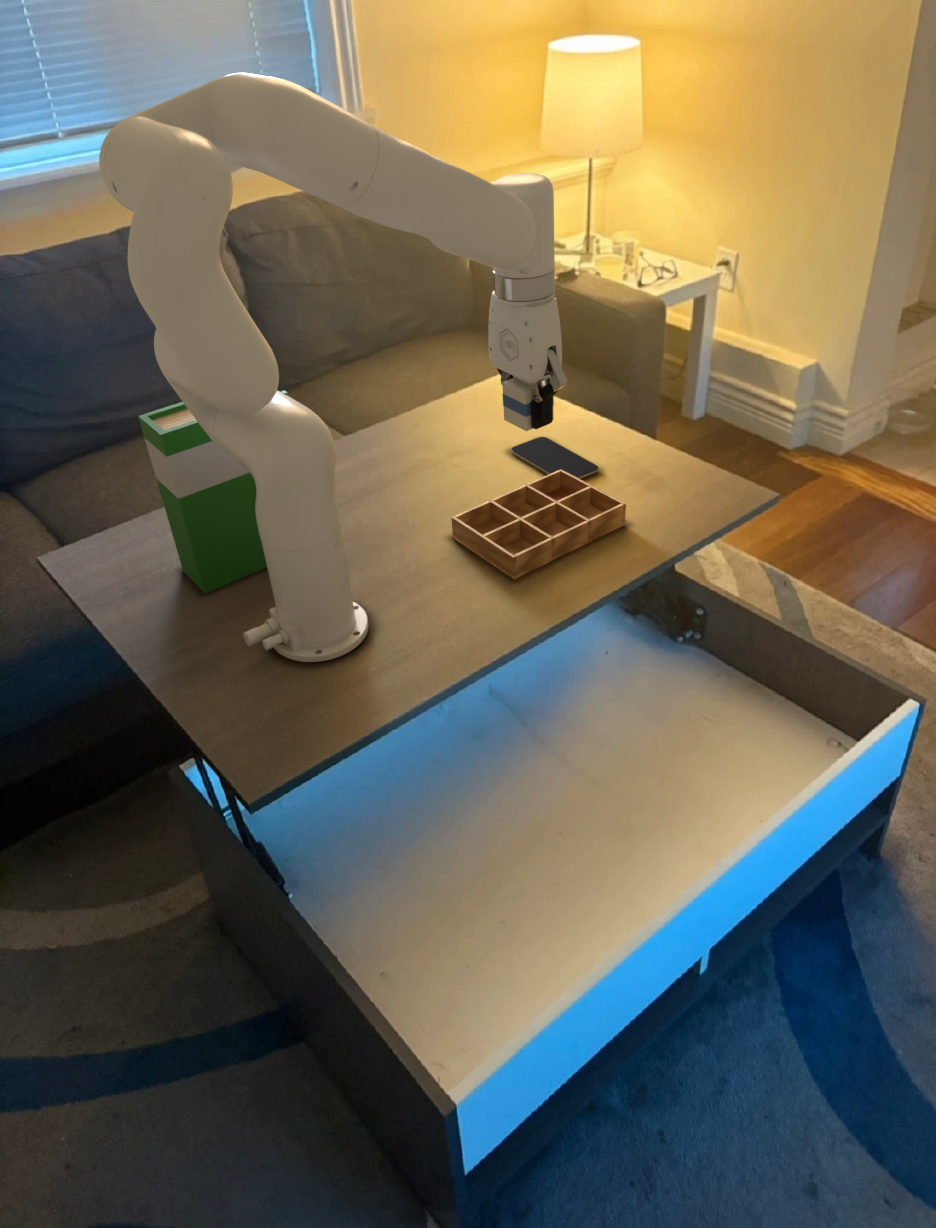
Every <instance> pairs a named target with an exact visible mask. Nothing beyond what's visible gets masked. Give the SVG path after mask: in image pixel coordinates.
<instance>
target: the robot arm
mask: <svg viewBox="0 0 936 1228" xmlns="http://www.w3.org/2000/svg"><path fill="white" fill-rule="evenodd" d="M98 157H99V159H98V165H99V166H98V167H99V173H100V176H101V178H102V181H103V185H105V188H106V189H107V191H108V192H109V194H110V195H111V196H112V197H113V199H115V201H117V202H118V203H119V204H120V205H122V206H123V208H125V209H127V210H129V211H130V212H132V213H133V215H132V217H131V222H130V225H129V226H130V228H129V234H128V243H127V269H128V275H129V280H130V283H131V286H132V289H133V290H134V293H135V295H136V297H137V299H138V302H139V303H140V305H141V306H142V308H143V310H144V311H145V312H146V314H147V317H149V319H150V320H151V322H152V324H153V325H154V327H155V332H154V337H153V350H154V356H155V359H156V362H157V365H158V366H159V369H160V371H161V373H162V375H163V376H164V377H165V379H166V380H167V382H168V383H169V385H170V386H171V388H172V389H173V391H174V392H175V393H176V394H177V396H178V398H179V399H180V400H181V402H183V403H184V404H185V405H186V407H187V408H188V409H189V411H190V412H191V414H192V415H193V416H194V418H195V419H196V420H197V422H198V423H199V424H200V426H201V427H202V428H203V430H204V431H205V432H206V433H207V435H208V436H209V437H210V438H211V440H212V441H213V442H214V443H215V444H216V445H217V446H218V447H219V448H220V449H221V450H222V451H223V452H225V453H226V454H227V455H229V456H230V457H231V458H233V459H234V460H235V461H237V462H238V463H239V464H240V465H241V466H243V467H244V468H245V469H246V470H248V471H249V472H250V473H251V475H252V476H253V478H254V480H255V484H256V502H255V513H256V520H257V526H258V530H259V535H260V539H261V542H262V546H263V551H264V555H265V560H266V564H267V567H266V568H267V572H268V573H267V574H268V577H269V581H270V587H271V590H272V596H273V599H274V604H275V606H274V607H272V608H269V609H268V611H269V616H270V618H267V619H265V620H264V623H263V624H261V625H259V626H255V627H253V628H251V629H249V630H247V631H244V632H242V637H243V640H244V642H245V643H246V645H247V646H248V647H250V648H251V647H252V646H255V645H257V644H259V643H261V644H262V647H263V648H264V650H266V651H269V650H271V649H274V650H275V651H276V652H277V654H279V655H280V656H282V657H284V658H285V659H289V660H291V661H295V662H302V663H318V662H319V663H320V662H326V661H329V660H330V661H331V660H334V659H337V658H340V657H342V656H344V655H347V654H348V653H350V652H351V651H353V650H354V649H356V648H357V647H358V646H359V645H360V644H361V643H362V642H363V641H364V639H365V638H366V637H367V634H368V632H369V627H370V626H369V623H370V622H369V617H368V614H367V612H366V610H365V609H364V608H363V607H362V606H361V605H360V604H358V603H357V602H355V601H353V594H352V589H351V582H350V576H349V569H348V565H347V563H348V562H347V559H346V553H345V552H346V551H345V545H344V539H343V532H342V528H341V527H342V526H341V522H340V517H339V510H338V503H337V495H336V457H337V456H336V455H337V454H336V444H335V440H334V438H333V435H332V432H331V430H330V429H329V427H328V425H327V424H326V423H325V421H324V420H323V419H322V418H321V417H320V416H319V415H318V414H317V413H316V412H315V411H313V410H312V409H310V408H309V407H308V406H306V405H304V404H302V403H301V402H300V401H298V400H296V399H294V398H292V397H291V396H289V395H288V396H287V395H285V394H283V393H281V390H278V387H279V383H280V371H279V365H278V362H277V358H276V355H275V354H274V351H273V349H272V347H271V346H270V344H269V343H268V341H267V339H266V338H265V337H264V334H263V333H262V332H261V330H260V328H259V327H258V326H257V324H256V323H255V321H254V320H253V318H252V316H251V315H250V313H249V311H248V310H247V308H246V306H245V305H244V303H243V302H242V300H241V299H240V297H239V295H238V294H237V292H236V290H235V288H234V287H233V284H232V283H231V280H230V279H229V277H228V275H227V273H226V271H225V269H224V267H223V264H222V259H221V252H220V251H221V250H220V249H221V248H220V247H221V246H220V245H221V238H222V234H223V231H224V226H225V224H226V221H227V218H228V215H229V212H230V209H231V205H232V201H233V194H234V183H233V176H232V174H233V173H235V172H238V170H241V169H243V168H245V169H248V170H251V171H254V172H255V171H256V172H259V173H262V174H264V175H266V176H268V177H270V178H273V179H276V180H278V181H280V182H282V183H285V184H286V185H289V186H291V187H294V188H296V189H298V190H300V191H303V192H305V193H307V194H309V195H312V196H314V197H315V198H318V199H320V200H322V201H325V202H327V203H330V204H332V205H334V206H336V207H338V208H340V209H342V210H344V211H347V212H349V213H350V214H351V213H352V214H353V215H355V216H358V217H360V218H362V219H365V220H368V221H371V222H373V223H374V224H375V223H376V224H379V225H381V226H384V227H387V228H389V229H390V228H391V229H393V230H397V231H402V232H406V233H410V234H413V235H416V236H420V237H424V238H426V239H428V240H429V241H430V243H432V245H434V246H435V247H436V248H437V249H440V251H442V252H445V253H447V254H450V255H453V256H456V257H459V258H462V259H466V260H469V261H472V262H476V263H478V264H481V265H484V266H487V267H489V268H492V269H493V270H492V272H493V287H494V289H493V290H492V292H491V296H490V301H489V313H488V358H489V362H490V363H491V365H492V366H494V367H495V368H496V370H497V372H498V374H499V376H500V384H501V385H502V382H504V381H507V380H510V379H512V378H513V376H515V377H517V378H519V379H522V380H524V381H526V382H529V383H531V386H532V390H533V395H534V400H532V401H531V422H532V428H533V429H534V430H539V429H540V428H543V427H545V426H548V425H551V424H552V422H553V421H554V420H553V416H554V409H553V410H552V397H554V398H555V396H556V394H557V393H558V392H559V391H560V390H562V388H564V387H566V386H567V385H568V383H569V382H568V378H567V376H566V374H565V371H564V370H563V342H562V341H563V340H562V327H561V319H560V313H559V306H558V301H557V297H556V278H555V277H556V273H555V272H556V270H555V268H556V266H555V265H556V264H555V263H556V262H555V196H554V195H555V194H554V186H553V184H552V181H551V180H550V178H548V177H547V176H545V175H543V174H540V173H534V172H519V173H512V174H506V175H504V176H501V177H499V178H497V179H495V180H493V181H488V180H486V179H484V178H482V177H480V176H478V175H476V174H473V173H472V172H471V171H470V172H469V171H467V170H466V169H464V168H461V167H458V166H456V165H454V164H452V163H450V162H448V161H445V160H444V159H441V158H440V157H437V156H436V155H433V154H432V153H429V152H427V150H424V149H422V148H420V147H418V146H416V145H414V144H412V143H410V142H408V141H405V140H403V139H401V138H399V137H397V136H395V135H393V134H391V133H389V132H387V131H385V130H383V129H382V128H379V127H377V126H376V125H374V124H372V123H371V122H369V121H366V120H364V119H362V118H360V117H358V116H357V115H355V114H353V113H351V112H349V111H347V110H346V109H344V108H343V107H341V106H339V105H337V104H336V103H334V102H333V101H329V100H327V99H326V98H324V97H322V96H321V95H319V94H317V93H315V92H313V91H311V90H309V89H308V88H306V87H304V86H302V85H299V84H298V83H295V82H292V81H290V80H287V79H283V78H279V77H275V76H268V75H267V76H266V75H261V74H255V73H248V72H236V73H230V74H226V75H224V76H221V77H218V78H216V79H213V80H211V81H208V82H206V83H204V84H201V85H199V86H197V87H194V88H192V89H190V90H188V91H186V92H183V93H180V94H178V95H176V96H173V97H172V98H169V99H167V100H165V101H163V102H160V103H157V104H156V105H153V106H150V107H149V108H146V109H143V110H141V111H139V112H136V113H134V114H131V115H130V116H127V117H126V118H124V119H123V120H121V121H119V122H118V123H117V124H116V125H114V126H113V127H112V128H111V129H110V130H109V131H108V132H107V134H106V136H105V137H104V140H103V141H102V143H101V147H100V151H99V156H98ZM543 380H545V386H544V387H543V388H542V389H541V386H540V381H543Z"/></svg>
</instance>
